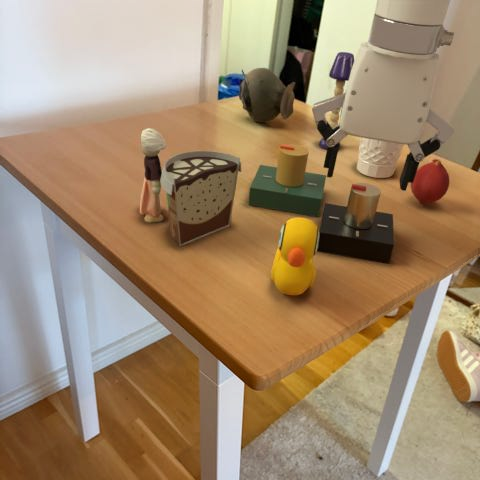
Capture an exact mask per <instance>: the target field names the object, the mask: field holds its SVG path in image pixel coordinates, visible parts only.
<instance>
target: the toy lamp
mask: <svg viewBox="0 0 480 480" xmlns="http://www.w3.org/2000/svg"><path fill="white" fill-rule="evenodd" d="M333 60H334V61H333V63H332V66H331V68H330V70H329V73H328V74H329V75H328V77H329V78H331V79H333V80H335V88H334V91H333V97H335V96H338V95H341V94H344V93H345V92H344V91H345V89H344V87H345V85H346V82H348V81H349V77H350V73H351V70H352V67H353V63H354V60H355V55H354V53H352V52H348V51H347V52H346V51H339V52H338V53H337V54H336V56H335V58H334V59H333ZM341 109H342V107H341V108H338V109H335V110H332V111H331V113H330V115H329V120H330V121H328V123H329V124H330V126H331V127H332V129H333V128H335V127H336V126H337V125H338V124H339V122H338V121H340V120H339V119H340V113H341ZM318 146H319V148H321V149H323V150H327V147H328V146H327V144H326V141H325V140H324V138H323V137H322V138H321V139H320V140H319V142H318ZM340 148H341V141H340V142H339V149H340Z"/></svg>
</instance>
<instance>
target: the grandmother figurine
mask: <svg viewBox="0 0 480 480" xmlns="http://www.w3.org/2000/svg"><path fill="white" fill-rule="evenodd" d="M162 135H163V134H161V133H160V132H158V131H157V130H156V129H154V128H152V127H151V128H150V127H148V128H145V129H142V132H141V134H140V141H141V144H140V149H141V152H142V154H144V155H145V156H144V158H143V167H144V178H143V183H142V188H141V195H140V199H139V203H140V204H139V214H140V215H144V217H143V220H144V221H145V222H146V223H150V224H151V223H159V222H163V221H164V218H165V217H164V216H163V214H162V212H163V211H162V207H161V199H160V195H161V193H160V192H161V191H162V190H161V189H162V186H161V183H160V180H161V175H162V170H163V169H162V165H161V160H160V157H159V154H160V152H161V151H162V150H164V149H166V147H167V142H166V140H165V139H164V137H163V136H162Z"/></svg>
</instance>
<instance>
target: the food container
mask: <svg viewBox="0 0 480 480" xmlns="http://www.w3.org/2000/svg"><path fill="white" fill-rule="evenodd" d="M161 170H162V175H161V180H160V183H161V189H162V190H163V191H164V192H166V202H167V211H168V222H169V231H170V238H171V240H172V241H173V243H174V244H175V245H176V246H177V247H179V248H180V247H183V246H185V245H187V244H190V243H193V242H195V241H198V240H200V239H203V238H205V237H208V236H210V235H212V234H214V233H217V232H219V231H221V230H224V229H227V228H229V227H231V220H232V215H233V207H234V203H235V202H234V201H235V195H236V189H237V182H238V176H239V173H242V171H243V170H242V162H241V158H240V157H238V156H236V155H233V154H230V153H226V152H221V151H214V150H191V151H184V152H181V153H177V154H175V155H173V156H171V157H169V158H167V160H166V161H165V163H164V166H163V168H162V169H161Z"/></svg>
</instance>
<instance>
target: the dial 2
mask: <svg viewBox="0 0 480 480" xmlns="http://www.w3.org/2000/svg"><path fill="white" fill-rule="evenodd" d="M381 194H382V190H381V189H380V188H379V187H378V186H376V185H374V184H371V183H366V182H357V183H351V187H350V191H349V195H348V200H347V204H346V207H347V208H346V212H345V217H344V222H345V223H346V224H347V225H348V226H350V227H352V228H356V229H368V228H370V227H371V226H372V224H373V220H374V217H375V213H376V211H377V209H378V207H379V202H380V199H381V198H380V197H381Z"/></svg>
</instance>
